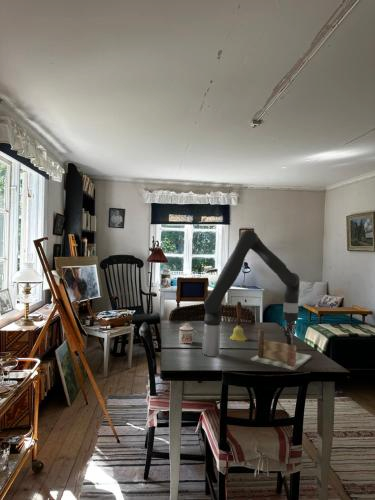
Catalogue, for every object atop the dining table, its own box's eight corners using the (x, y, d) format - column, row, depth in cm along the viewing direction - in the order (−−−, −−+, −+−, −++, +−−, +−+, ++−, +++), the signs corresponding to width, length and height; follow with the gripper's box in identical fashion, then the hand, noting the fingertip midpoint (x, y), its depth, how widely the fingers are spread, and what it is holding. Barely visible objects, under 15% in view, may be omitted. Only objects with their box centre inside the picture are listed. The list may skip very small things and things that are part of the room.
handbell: (248, 337, 238) (249, 301, 238) (245, 342, 227) (246, 303, 227) (231, 335, 242) (232, 300, 242) (227, 340, 231) (228, 302, 231)
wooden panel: (263, 357, 190) (264, 329, 190) (264, 356, 192) (265, 329, 192) (294, 363, 180) (295, 334, 180) (295, 362, 182) (296, 333, 182)
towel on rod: (250, 360, 189) (251, 330, 189) (271, 349, 211) (271, 322, 211) (294, 370, 175) (295, 338, 175) (311, 357, 197) (312, 329, 197)
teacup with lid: (180, 344, 216) (181, 325, 216) (177, 340, 225) (177, 322, 225) (199, 344, 219) (199, 325, 219) (195, 340, 228) (195, 322, 228)
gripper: (288, 308, 191) (287, 339, 191) (278, 311, 179) (278, 345, 180) (302, 310, 186) (301, 342, 186) (293, 313, 175) (292, 348, 175)
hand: (290, 343), depth 183 cm, fingers closed on wooden panel, 2 cm apart
